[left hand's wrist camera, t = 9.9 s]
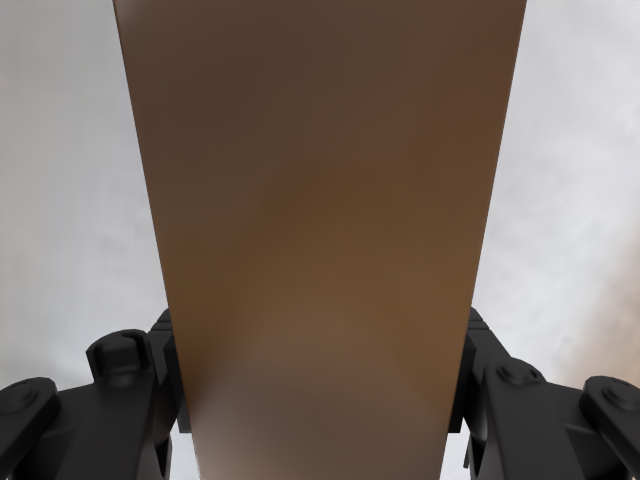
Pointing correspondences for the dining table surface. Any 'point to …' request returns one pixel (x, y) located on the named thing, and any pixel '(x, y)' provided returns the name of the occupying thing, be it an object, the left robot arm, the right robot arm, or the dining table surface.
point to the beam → (319, 218)
